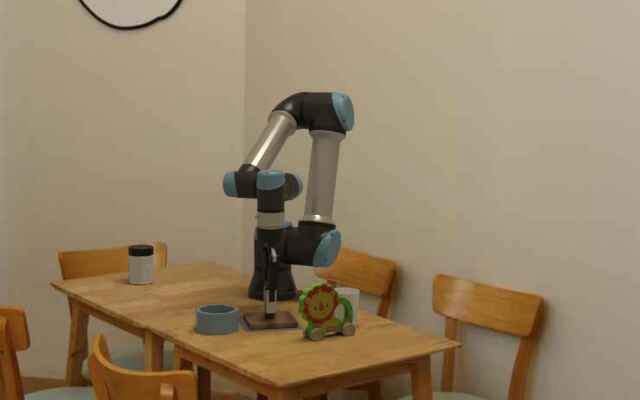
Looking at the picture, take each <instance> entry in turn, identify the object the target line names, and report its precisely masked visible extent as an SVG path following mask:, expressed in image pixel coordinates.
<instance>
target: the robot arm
mask: <svg viewBox="0 0 640 400" xmlns="http://www.w3.org/2000/svg"><path fill="white" fill-rule="evenodd" d="M354 109H355V108H354V105H353V102H352V98H351V97H350V96H349V94H347V93H344V92H335V91H327V92H325V91H324V92H323V91H321V92H320V91H299V92H296V93H293V94H291V95H290V96H288V97H286V98H284V99H283V100H282V101H280V102H279V103H278V104H277V105H275V107H274V108H273V109H272V110H271V111H270V113H269V115H268V116H267V125H266V126H265V128H264V129H263V130H262V132H261V134H260V135H259V136H258V139H257V140H256V142H255V144H254V145H253V146H252V148H251V149H250V151H249V153H248V155H247V156H246V158H245V159H244V160H243V162H242V164H241V165H240V166H239V168H238V170H231V171H228V172H226V173H225V174H224V175H223V179H222V190H223V193H224V194H225V196H227V197H229V198H237V199H248V200H249V199H250V200H251V199H252V200H253V199H254V200H256V214H255V215H254V218H255V219H256V226H255V228H254V233H253V235H254V237H253V274H252V277H251V279H250V282H249V286H248V290H247V296H248V297H249V298H251V299H252V300H256V301H263V311H265V290H266V313H276V311H277V302H282V301H288V300H292V299H296V298H297V296H298V290H297V285H296V281H295V279H294V276H293V272H292V265H293V266H302V267H303V266H304V267H313V268H330V267H331V266H332V265H334V264H335V262H336V260H337V259H338V256H339V254H340V251H341V248H342V247H341V246H342V234H341V232H340V230H338V229H337V224H336V222H335V221H334V219H333V210H334V202H335V194H336V193H335V192H336V186H337V185H336V183H337V175H338V174H337V173H338V165H339V158H340V157H339V156H340V150H341V149H340V148H341V147H340V146H341V142H343V141H344V140H345V139H346V137H347V132H350V131H352V130H353V129H354V126H355V110H354ZM298 130H308V135H309V136H310V138H311V140H312V143H311V151H310V159H309V160H310V161H309V170H308V176H307V177H308V178H307V186H306V196H305V203H304V212H303V216H302V217H300V218H299V220H298V221H297V226H294V225H293V223H292V221H290V220H285V217H286V216H285V215H286V213H285V212H286V211H285V202H288V201H292V200H295V199H296V198H298V197H299V196H301V194H302V192H303V191H304V184H303V180H302V178H301V177H300V175H298V174H296V173H293V172H284V171H283V170H281V169H270V168H271V167H272V166H273V163H274V162H275V160H276V158H277V157H278V155H279V153H280V152H281V151H282V148H283V147H284V145H285V144H286V143H287V141H288V139H289V137H291V136H294V134H296V132H297V131H298ZM265 281H267V288H265Z"/></svg>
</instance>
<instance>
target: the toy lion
mask: <svg viewBox="0 0 640 400" xmlns="http://www.w3.org/2000/svg"><path fill="white" fill-rule="evenodd" d="M340 304H343V306H344V318H343V320H340V319H338V318H336V317H334V311H335V309H336V307H337V306H338V305H340ZM297 310H298V311H297V312H298V313H299V314H301V318H302V320H304V321H306V322H307V325H306V326H304V327H303V328H304V329H302V336H303V337H304V338H306V339H308V338H309V339H310V340H311V341H312V342H321V341H323V340H324V338H325V335H326V334H329V333H338V334H342V335H343V336H344V337H351V336H354V335H355V333H356V328H357V327H356V328H355V326H354V325H353V324H352V322H353V309H352V305H351V303H350V302H349V301H348V300H347V299H346V298H344V297H341V296H339V295H338V292H337V291H335V287H334V285H331V284H328V283H326V282H324V281H318V282H317V283H311V284H310V285H308V287H306V288H304V289H303V291H302V294H301V295H300V296H299V298H298V306H297Z"/></svg>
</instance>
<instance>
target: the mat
mask: <svg viewBox="0 0 640 400" xmlns="http://www.w3.org/2000/svg"><path fill="white" fill-rule="evenodd" d="M291 315H292V316H293V317H294V318H295V320H296V321H297V322H298V327H285V328H265V329H250V328H249V326H248V325H247V323H246V321H245V320H244V318H243V316H239V325H241V327H242V329H243V332H245V333H253V332H257V333H258V332H275V331H278V332H279V331H294V330H295V331H297V330H303V329H304V327H303V326H302V325H301V323H300V322H299V321H298V319H296V317H295V316H294V315H293V314H291Z"/></svg>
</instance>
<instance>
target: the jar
mask: <svg viewBox="0 0 640 400" xmlns="http://www.w3.org/2000/svg"><path fill="white" fill-rule="evenodd" d="M127 249H128V250H127V251H128V252H127V253H128V256H127V257H128V284H129V283H135V284H147V283H152V282H154V283H155V271H154V269H155V267H154V266H155V265H154V264H155V262H154V261H155V260H154V254H155V253H154V252H155V251H154V250H155V249H154V246H153V245H151V244H133V245H132V244H131V245H129V246H128V247H127Z"/></svg>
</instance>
